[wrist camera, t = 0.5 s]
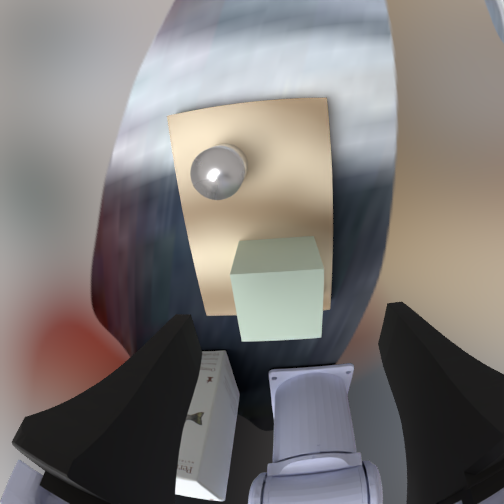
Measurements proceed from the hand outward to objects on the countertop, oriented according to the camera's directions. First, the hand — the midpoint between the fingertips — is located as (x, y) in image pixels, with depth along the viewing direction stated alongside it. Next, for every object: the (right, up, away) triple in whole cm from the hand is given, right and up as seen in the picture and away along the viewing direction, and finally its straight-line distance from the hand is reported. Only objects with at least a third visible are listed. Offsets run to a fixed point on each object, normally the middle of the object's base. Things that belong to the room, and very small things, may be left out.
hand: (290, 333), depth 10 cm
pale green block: (0, +2, +8) cm, 8 cm away
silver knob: (-3, +8, +7) cm, 11 cm away
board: (-1, +5, +8) cm, 10 cm away
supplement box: (-7, -9, +16) cm, 19 cm away
